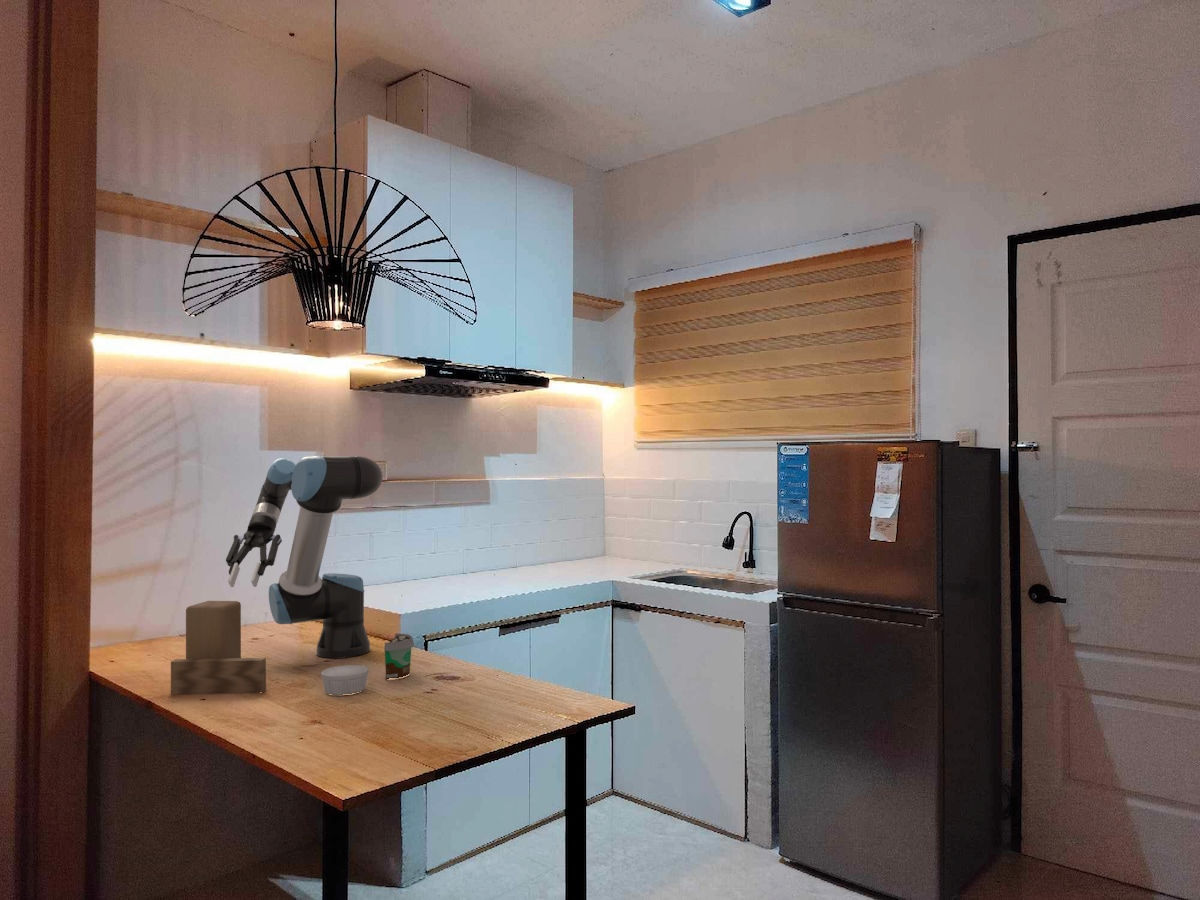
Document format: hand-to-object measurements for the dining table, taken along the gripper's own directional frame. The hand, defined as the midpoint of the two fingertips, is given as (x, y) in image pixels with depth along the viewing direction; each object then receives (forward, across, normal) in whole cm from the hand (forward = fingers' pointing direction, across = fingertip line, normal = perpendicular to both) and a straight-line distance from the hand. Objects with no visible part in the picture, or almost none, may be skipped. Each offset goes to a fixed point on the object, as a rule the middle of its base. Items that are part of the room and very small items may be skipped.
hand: (242, 583), depth 233 cm
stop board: (+37, -6, +5) cm, 38 cm away
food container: (+28, -48, -4) cm, 56 cm away
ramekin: (+38, -37, +5) cm, 53 cm away
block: (+29, 0, -3) cm, 29 cm away
